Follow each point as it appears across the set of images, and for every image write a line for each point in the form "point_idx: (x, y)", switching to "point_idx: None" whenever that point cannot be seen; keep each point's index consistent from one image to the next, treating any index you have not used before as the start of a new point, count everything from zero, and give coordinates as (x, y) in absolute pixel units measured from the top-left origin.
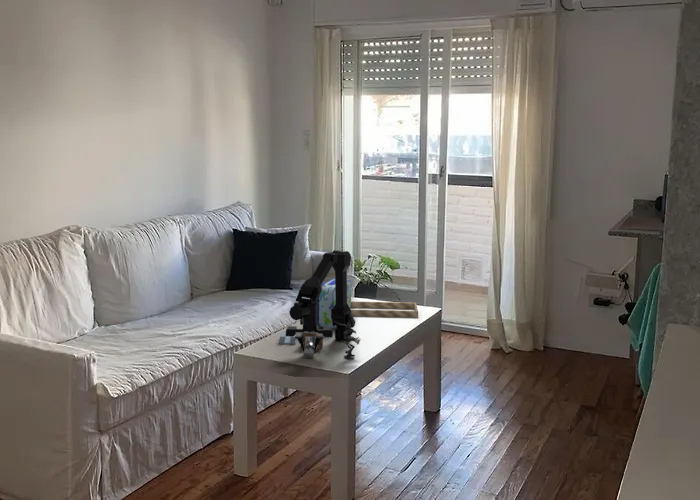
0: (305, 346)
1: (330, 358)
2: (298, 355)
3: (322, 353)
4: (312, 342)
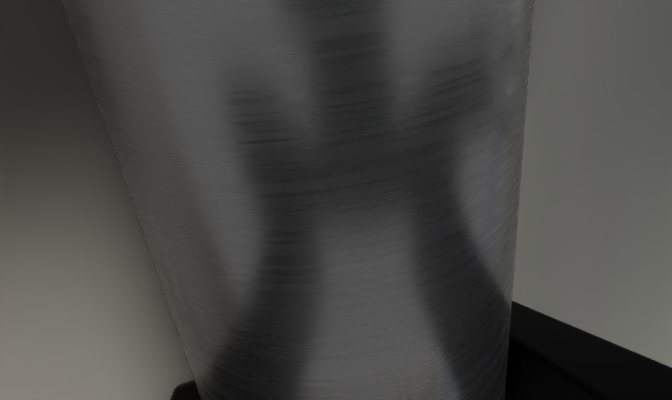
0: (196, 348)
1: (667, 283)
2: (51, 381)
3: (575, 59)
4: (499, 8)
